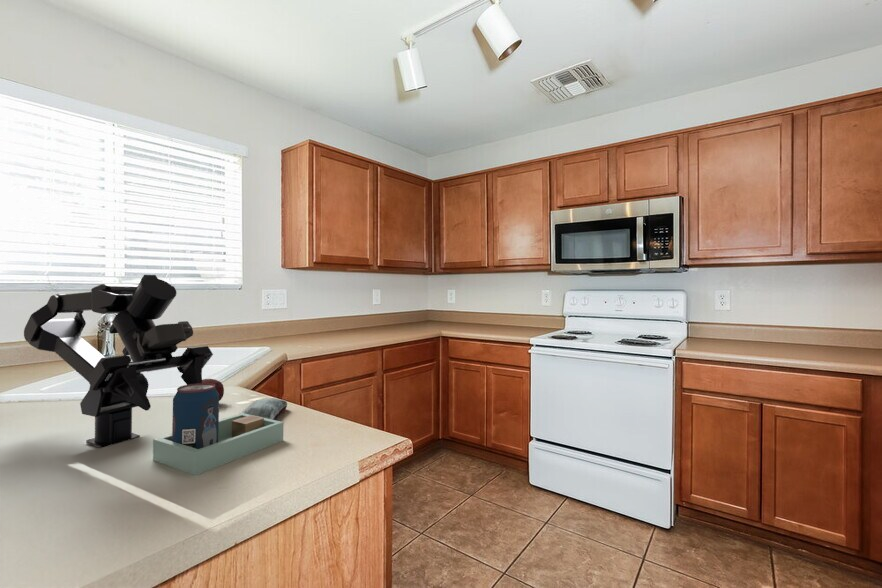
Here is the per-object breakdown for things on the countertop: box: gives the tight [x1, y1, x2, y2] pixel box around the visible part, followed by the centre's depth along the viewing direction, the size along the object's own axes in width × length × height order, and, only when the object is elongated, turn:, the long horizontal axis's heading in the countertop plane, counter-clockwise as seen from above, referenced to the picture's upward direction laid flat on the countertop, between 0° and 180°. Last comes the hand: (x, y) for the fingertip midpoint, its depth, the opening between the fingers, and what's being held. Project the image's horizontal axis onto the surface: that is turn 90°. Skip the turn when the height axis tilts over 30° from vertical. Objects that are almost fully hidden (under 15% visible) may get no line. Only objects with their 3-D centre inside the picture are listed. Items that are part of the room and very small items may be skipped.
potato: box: [202, 378, 225, 402], centre depth 104 cm, size 7×8×7 cm
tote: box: [152, 413, 284, 476], centre depth 73 cm, size 12×17×4 cm
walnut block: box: [232, 415, 264, 438], centre depth 77 cm, size 4×4×4 cm
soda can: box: [171, 383, 220, 449], centre depth 70 cm, size 7×7×12 cm
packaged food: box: [239, 398, 288, 421], centre depth 92 cm, size 9×12×5 cm
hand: (176, 402), depth 71 cm, fingers open, 9 cm apart
